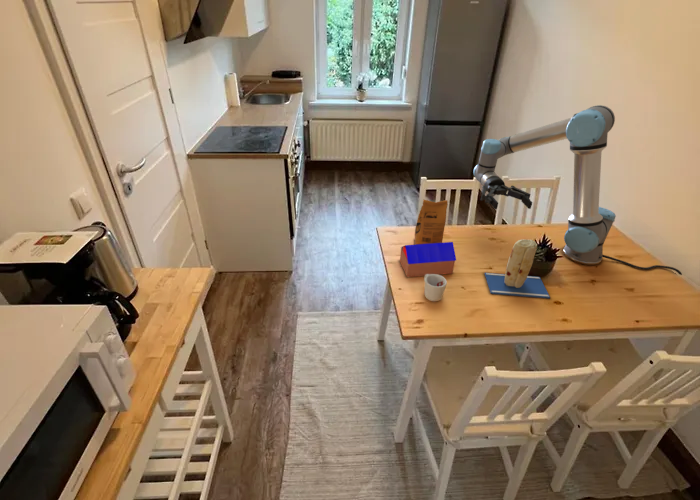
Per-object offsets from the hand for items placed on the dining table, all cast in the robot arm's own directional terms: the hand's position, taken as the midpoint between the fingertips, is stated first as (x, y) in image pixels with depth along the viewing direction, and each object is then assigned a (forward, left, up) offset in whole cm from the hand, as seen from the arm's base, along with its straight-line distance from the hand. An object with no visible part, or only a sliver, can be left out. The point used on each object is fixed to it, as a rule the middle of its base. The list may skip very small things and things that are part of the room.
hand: (513, 206), depth 148 cm
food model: (-3, +14, -28) cm, 31 cm away
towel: (-4, +14, -28) cm, 32 cm away
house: (+31, +6, -28) cm, 42 cm away
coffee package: (+29, -13, -28) cm, 42 cm away
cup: (+30, +24, -28) cm, 47 cm away
